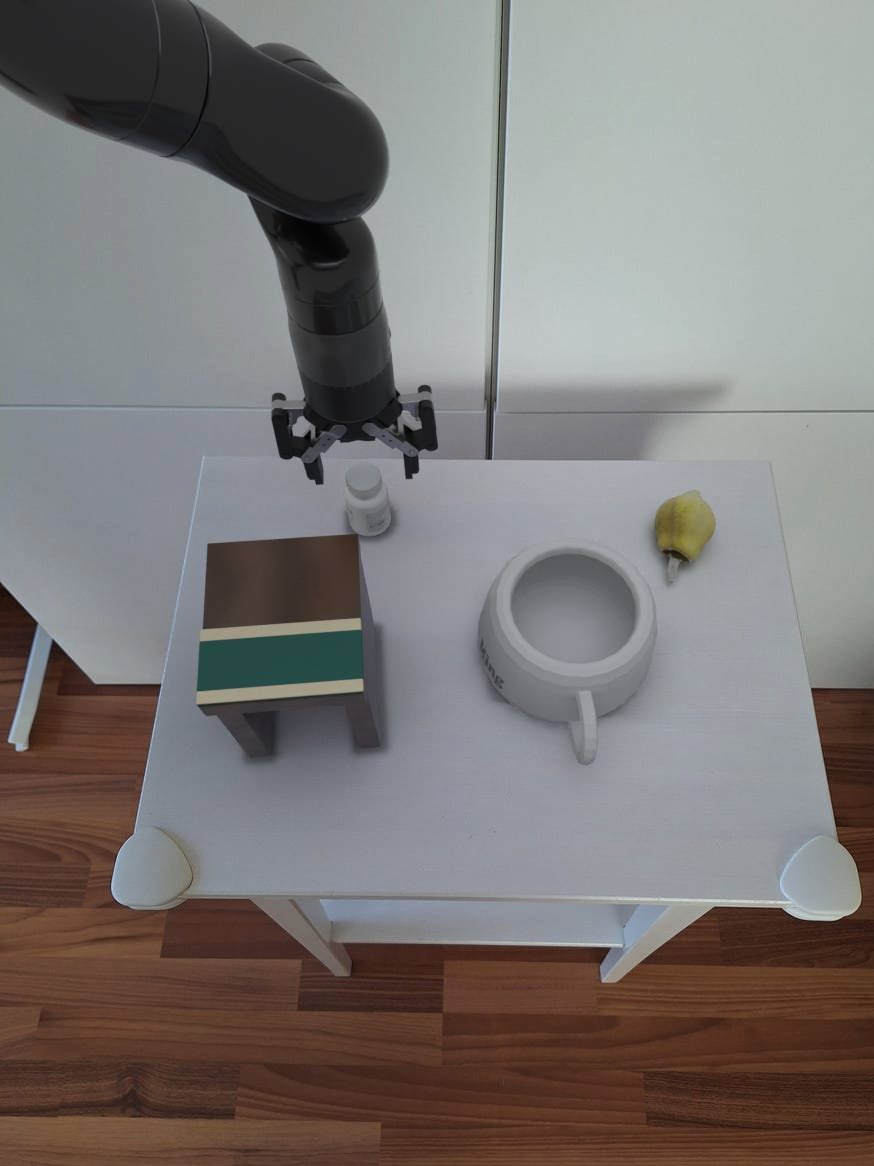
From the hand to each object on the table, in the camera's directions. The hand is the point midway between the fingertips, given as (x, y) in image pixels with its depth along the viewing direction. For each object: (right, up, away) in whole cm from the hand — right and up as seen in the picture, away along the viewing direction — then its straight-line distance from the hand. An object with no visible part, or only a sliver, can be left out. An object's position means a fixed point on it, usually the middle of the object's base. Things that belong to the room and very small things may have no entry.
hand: (364, 474), depth 76 cm
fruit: (+32, -6, +7) cm, 33 cm away
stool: (-5, -21, -1) cm, 21 cm away
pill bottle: (0, -3, +7) cm, 8 cm away
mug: (+19, -19, +1) cm, 27 cm away
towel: (-4, -18, -17) cm, 25 cm away
